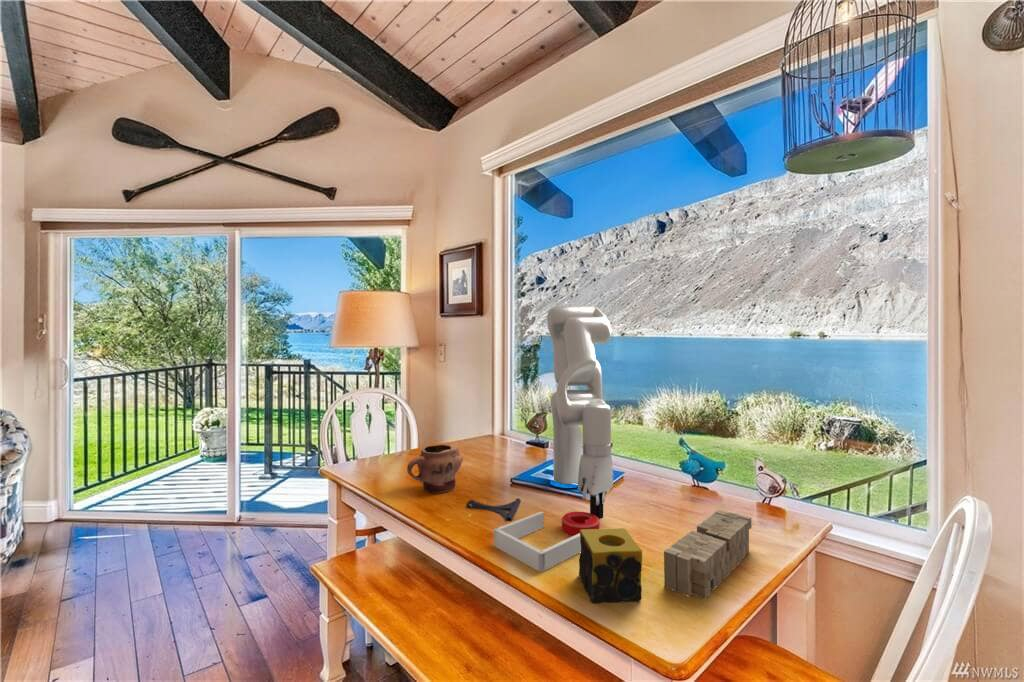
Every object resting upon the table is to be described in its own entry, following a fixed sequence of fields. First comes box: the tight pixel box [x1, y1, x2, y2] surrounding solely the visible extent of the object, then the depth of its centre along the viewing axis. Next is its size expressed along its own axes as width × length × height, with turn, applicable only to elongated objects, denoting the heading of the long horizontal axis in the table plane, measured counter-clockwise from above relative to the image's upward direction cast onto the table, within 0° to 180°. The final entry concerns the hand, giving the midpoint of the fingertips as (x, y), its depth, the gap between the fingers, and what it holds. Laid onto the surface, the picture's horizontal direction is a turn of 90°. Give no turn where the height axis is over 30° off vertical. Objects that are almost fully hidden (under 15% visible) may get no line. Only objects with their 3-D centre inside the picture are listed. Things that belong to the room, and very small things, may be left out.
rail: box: [493, 511, 581, 573], centre depth 107 cm, size 16×16×4 cm
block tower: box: [663, 509, 752, 599], centre depth 98 cm, size 8×8×29 cm
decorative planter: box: [406, 444, 464, 494], centre depth 145 cm, size 20×12×14 cm, turn 136°
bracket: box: [465, 497, 521, 522], centre depth 130 cm, size 14×15×3 cm
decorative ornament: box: [561, 511, 600, 537], centre depth 116 cm, size 10×10×3 cm
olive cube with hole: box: [578, 527, 643, 604], centre depth 90 cm, size 10×10×10 cm
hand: (596, 517), depth 121 cm, fingers closed
